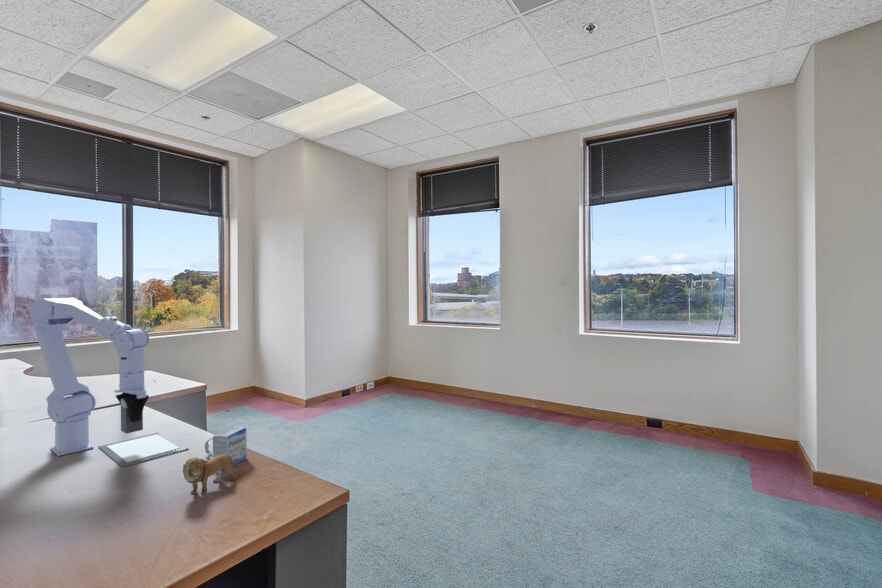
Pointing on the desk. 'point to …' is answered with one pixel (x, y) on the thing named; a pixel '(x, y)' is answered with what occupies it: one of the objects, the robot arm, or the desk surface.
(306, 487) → the desk surface
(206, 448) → the wristwatch
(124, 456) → the desk mat
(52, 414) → the robot arm
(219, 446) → the medicine box
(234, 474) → the lion figurine
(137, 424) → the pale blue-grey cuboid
